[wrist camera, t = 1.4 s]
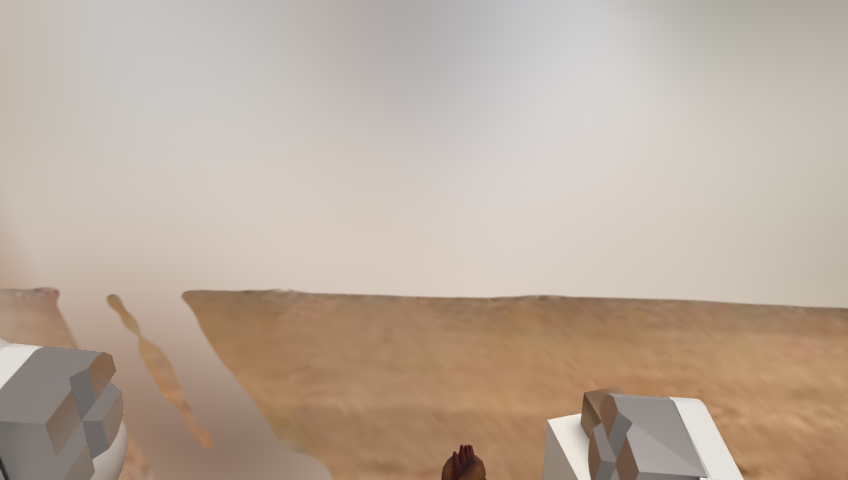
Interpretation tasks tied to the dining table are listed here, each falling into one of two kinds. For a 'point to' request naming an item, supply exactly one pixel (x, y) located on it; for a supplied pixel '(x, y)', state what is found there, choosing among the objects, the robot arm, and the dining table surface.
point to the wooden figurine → (464, 466)
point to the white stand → (566, 450)
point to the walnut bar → (594, 408)
